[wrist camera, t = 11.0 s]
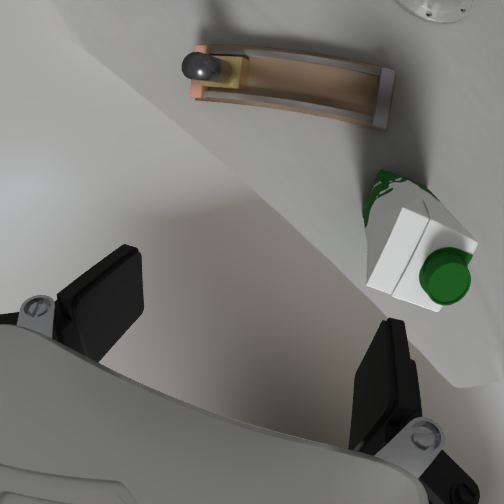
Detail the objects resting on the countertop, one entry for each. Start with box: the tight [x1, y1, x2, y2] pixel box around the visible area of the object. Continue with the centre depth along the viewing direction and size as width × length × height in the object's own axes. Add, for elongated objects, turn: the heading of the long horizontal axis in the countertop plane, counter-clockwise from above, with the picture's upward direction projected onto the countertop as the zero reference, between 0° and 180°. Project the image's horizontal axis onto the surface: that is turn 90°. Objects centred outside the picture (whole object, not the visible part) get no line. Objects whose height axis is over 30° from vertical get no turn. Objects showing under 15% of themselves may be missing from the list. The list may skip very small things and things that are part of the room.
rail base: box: [190, 45, 396, 131], centre depth 34 cm, size 8×25×4 cm, turn 83°
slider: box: [182, 52, 249, 90], centre depth 32 cm, size 4×5×10 cm
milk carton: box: [363, 170, 478, 312], centre depth 30 cm, size 9×9×20 cm
